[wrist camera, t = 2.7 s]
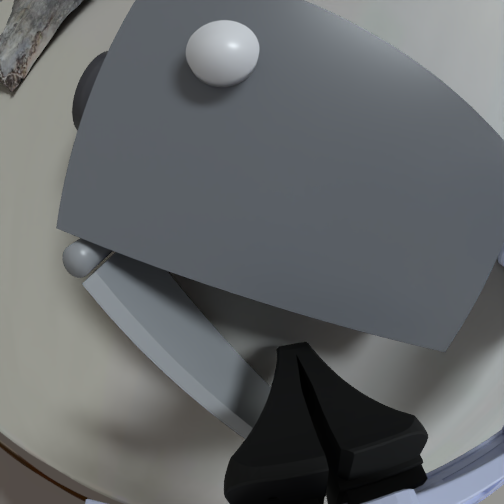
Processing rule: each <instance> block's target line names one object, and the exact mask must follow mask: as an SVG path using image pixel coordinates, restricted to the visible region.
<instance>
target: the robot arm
mask: <svg viewBox="0 0 504 504" xmlns="http://www.w3.org/2000/svg"><path fill="white" fill-rule="evenodd" d="M498 263H499V264H501V265H502V266H503V267H504V243H503V245H502V248H501V250H500V252H499V255H498ZM427 439H428V434H427V432H426V430H425V428H424V427H423V425H422V424H421V423H420V422H419V420H418V419H417V418H416V417H415V416H414V415H411V414H407V413H404V412H401V411H398V410H395V409H392V408H390V407H388V406H385V405H383V404H381V403H379V402H377V401H375V400H373V399H371V398H369V397H368V396H366V395H364V394H363V393H361V392H359V391H358V390H356V389H355V388H354V387H352V386H351V385H349V384H348V383H347V382H346V381H344V380H343V379H342V378H341V377H340V376H338V375H337V374H336V373H335V372H334V371H333V370H332V369H331V368H330V367H329V366H328V365H327V364H326V363H325V362H324V361H323V360H322V359H321V358H320V357H319V356H318V355H317V353H316V352H315V351H314V350H313V349H312V347H311V346H310V345H309V343H307V342H302V343H296V344H291V345H285V346H280V347H278V348H277V364H276V370H275V375H274V380H273V383H272V387H271V390H270V393H269V396H268V399H267V401H266V404H265V406H264V408H263V410H262V412H261V414H260V416H259V418H258V420H257V422H256V424H255V426H254V427H253V429H252V430H251V432H250V433H249V435H248V436H247V438H246V439H245V441H244V442H243V444H242V445H241V446H240V447H239V449H238V450H237V451H236V452H235V453H234V455H233V456H232V457H231V459H230V461H229V464H228V467H227V471H226V474H225V480H224V495H225V498H226V499H227V501H228V502H229V503H230V504H323V503H324V497H325V496H327V502H328V504H478V503H479V502H481V501H482V500H484V499H485V498H486V497H487V496H489V495H490V494H492V493H493V492H494V491H496V490H497V489H498V488H500V487H501V486H502V485H504V426H503V428H502V430H500V431H499V432H498V433H496V434H495V435H493V436H492V437H490V438H489V439H487V440H486V441H484V442H483V443H481V444H480V445H478V446H476V447H475V448H473V449H471V450H470V451H468V452H466V453H465V454H463V455H461V456H459V457H458V458H456V459H454V460H452V461H450V462H449V463H447V464H445V465H443V466H441V467H439V468H437V469H435V470H433V471H431V472H429V473H427V474H426V473H425V471H424V469H423V467H422V465H421V464H422V463H423V460H422V458H421V456H420V453H421V452H422V450H423V448H424V446H425V444H426V442H427ZM85 504H108V503H104V502H100V501H95V500H91V499H86V502H85Z"/></svg>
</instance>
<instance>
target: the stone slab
mask: <svg viewBox="0 0 504 504" xmlns="http://www.w3.org/2000/svg"><path fill="white" fill-rule="evenodd" d="M0 1H2V0H0ZM82 1H83V0H14V5H13V7H12V13H11V15H10V17H9V19H8V22H7V24H6V25H7V26H6V28H5V29H4V31H3V33H2V34H1V35H0V81H1V82H2V83H4V85H5V86H6V87H8V88H9V89H10V90H9V91H11V92H13V91H14V89H15V88H16V87H17V86H18V85H19V84H20V81H21V78H23V79H24V78H25V77H26V75H27V73H28V72H29V70H30V68H31V67H32V65H33V63H34V62H35V61H36V59H37V58H38V56H39V55H40V54H41V52H42V51H43V49H44V48H45V46H46V45H47V44H48V42H49V41H50V39H51V38H52V36H53V35H54V33H55V32H56V30H57V29H58V27H59V25H60V24H61V23H62V21H63V20H64V19H65V18H66V17H67V16H68V15H69V13H70V12H71V11H73V10H74V9H75V8H77V7H78V6H79V5H80V4H81V2H82Z"/></svg>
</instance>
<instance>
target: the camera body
mask: <svg viewBox="0 0 504 504" xmlns="http://www.w3.org/2000/svg"><path fill="white" fill-rule="evenodd" d="M72 115H73V122H74V125H75V127H76V129H77V131H78V132H77V135H76V138H75V142H74V145H73V149H72V153H71V156H70V160H69V164H68V169H67V173H66V177H65V182H64V187H63V192H62V197H61V202H60V208H59V214H58V220H57V227H56V228H57V229H60V230H62V231H65V232H67V233H70V234H72V235H74V236H77V237H79V238H82V239H84V240H87V241H89V242H92V243H94V244H97V245H99V246H102V247H105V248H107V249H110V250H112V251H115V252H118V253H120V254H123V255H125V256H128V257H131V258H133V259H136V260H139V261H142V262H144V263H147V264H150V265H152V266H155V267H158V268H161V269H164V270H166V271H169V272H172V273H175V274H178V275H180V276H183V277H186V278H189V279H192V280H195V281H198V282H201V283H204V284H207V285H210V286H213V287H216V288H218V289H222V290H225V291H228V292H231V293H234V294H237V295H240V296H243V297H246V298H249V299H252V300H255V301H259V302H262V303H265V304H268V305H271V306H275V307H278V308H281V309H285V310H288V311H291V312H294V313H298V314H301V315H305V316H308V317H311V318H315V319H318V320H322V321H325V322H329V323H332V324H336V325H340V326H343V327H347V328H350V329H354V330H358V331H361V332H365V333H369V334H373V335H377V336H380V337H384V338H388V339H392V340H396V341H400V342H404V343H408V344H412V345H417V346H421V347H425V348H429V349H434V350H438V351H442V352H445V351H446V350H447V348H448V347H449V345H450V344H451V342H452V341H453V339H454V338H455V336H456V335H457V333H458V331H459V330H460V328H461V327H462V325H463V323H464V322H465V320H466V318H467V316H468V315H469V313H470V311H471V309H472V308H473V306H474V304H475V302H476V300H477V298H478V297H479V295H480V293H481V291H482V289H483V287H484V285H485V283H486V281H487V279H488V277H489V275H490V273H491V270H492V268H493V266H494V264H495V262H496V259H497V257H498V255H499V252H500V250H501V248H502V245H503V243H504V140H503V139H502V138H501V137H500V136H499V135H498V133H497V132H496V131H495V130H494V129H493V128H492V127H491V126H490V125H489V124H488V123H487V122H486V121H485V120H484V119H483V118H482V117H481V116H480V115H479V114H478V113H477V112H476V111H475V110H474V109H473V108H472V107H471V106H470V105H469V104H468V103H467V102H466V101H464V100H463V99H462V98H461V97H460V96H459V95H458V94H457V93H455V92H454V91H453V90H452V89H451V88H450V87H448V86H447V85H446V84H445V83H444V82H442V81H441V80H440V79H439V78H437V77H436V76H435V75H434V74H432V73H431V72H430V71H428V70H427V69H426V68H424V67H423V66H422V65H420V64H419V63H418V62H416V61H415V60H413V59H412V58H410V57H409V56H408V55H406V54H405V53H403V52H402V51H400V50H399V49H397V48H396V47H394V46H392V45H391V44H389V43H388V42H386V41H384V40H383V39H381V38H379V37H378V36H376V35H374V34H373V33H371V32H369V31H367V30H365V29H364V28H362V27H360V26H358V25H356V24H354V23H352V22H350V21H349V20H347V19H345V18H343V17H341V16H338V15H336V14H334V13H332V12H330V11H328V10H326V9H323V8H321V7H319V6H316V5H314V4H312V3H309V2H307V1H304V0H136V1H135V2H134V4H133V6H132V7H131V9H130V11H129V12H128V14H127V16H126V18H125V19H124V21H123V23H122V25H121V27H120V29H119V31H118V33H117V34H116V36H115V38H114V40H113V42H112V44H111V47H110V49H109V51H106V52H103V53H101V54H100V55H98V56H97V57H96V58H95V59H94V60H93V61H92V62H91V63H90V64H89V65H88V67H87V68H86V70H85V71H84V73H83V75H82V76H81V78H80V81H79V83H78V85H77V88H76V91H75V95H74V100H73V108H72Z"/></svg>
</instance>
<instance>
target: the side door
mask: <svg viewBox="0 0 504 504" xmlns="http://www.w3.org/2000/svg"><path fill="white" fill-rule="evenodd" d="M111 252H112V250H110V249H107V248H105V247H102V246H99V245H97V244H94V243H92V242H89V241H87V240H84V239H82V238H80V239H79V240H77V241H76V242H74V243H72V244H71V245H69V246H68V247H67V248H66V249H65V250H64V252H63V263H64V266H65V268H66V270H67V271H68V272H69V273H70V274H71V275H73V276H75V277H78V278H81V277H84V276H86V275H87V274H88V273H89V272H90V271H91V270H93V269H94V268H95V267H96V266H97V265H98V264H99V263H100V262H101V261H102V260H103V259H105V258H106V257H107V256H108V255H109V254H110V253H111ZM82 284H83V286H84V287H85V288H86V289H87V291H88V292H89V293H90V294H91V295H92V297H93V298H94V299H95V300H96V301H97V303H98V304H99V305H100V306H101V307H102V309H103V310H104V311H105V312H106V313H107V314H108V315H109V317H110V318H111V319H112V320H113V321H114V322H115V323H116V324H117V325H118V327H119V328H120V329H121V330H122V331H123V332H124V333H125V334H126V335H127V336H128V337H129V338H130V339H131V340H132V341H133V343H134V344H135V345H136V346H137V347H138V348H139V349H140V350H141V351H142V352H143V353H144V354H145V355H146V356H147V357H148V358H149V359H150V360H151V361H152V362H153V363H154V364H156V365H157V366H158V367H159V368H160V369H161V370H162V371H163V372H164V373H165V374H166V375H167V376H168V377H169V378H170V379H172V380H173V381H174V382H175V383H176V384H177V385H178V386H179V387H180V388H182V389H183V390H184V391H185V392H186V393H187V394H189V395H190V396H191V397H192V398H193V399H194V400H196V401H197V402H198V403H199V404H200V405H202V406H203V407H204V408H205V409H206V410H208V411H209V412H210V413H211V414H213V415H214V416H215V417H216V418H218V419H219V420H220V421H222V422H223V423H224V424H226V425H227V426H228V427H230V428H231V429H232V430H234V431H235V432H236V433H238V434H239V435H240V436H242V437H243V438H245V439H246V438H247V436H248V435H249V433H250V432H251V430H252V429H253V427H254V426H255V424H256V422H257V420H258V418H259V416H260V414H261V412H262V410H263V408H264V406H265V404H266V401H267V399H268V396H269V393H270V390H271V387H270V386H269V385H268V384H267V383H266V382H265V381H264V380H263V379H262V378H261V377H260V376H259V375H258V374H257V373H256V372H255V371H254V370H253V369H252V368H251V366H250V365H249V364H248V363H247V362H246V361H245V360H244V359H243V358H242V357H241V356H240V355H239V354H238V353H237V352H236V350H235V349H234V348H233V347H232V346H231V345H230V344H229V343H228V342H227V341H226V340H225V338H224V337H223V336H222V335H221V334H220V333H219V332H218V331H217V330H216V328H215V327H214V326H213V325H212V324H211V323H210V322H209V320H208V319H207V318H206V317H205V316H204V315H203V314H202V312H201V311H200V310H199V309H198V308H197V307H196V305H195V304H194V303H193V302H192V301H191V300H190V298H189V297H188V296H187V295H186V294H185V292H184V291H183V290H182V289H181V288H180V286H179V285H178V284H177V283H176V282H175V280H174V279H173V278H172V277H171V275H170V274H169V273H168V272H167V271H166V270H164V269H161V268H158V267H155V266H152V265H150V264H147V263H144V262H142V261H139V260H136V259H133V258H131V257H128V256H125V255H123V254H120V253H118V252H115V253H114V254H113V255H112V256H111V257H110V258H108V259H107V260H106V261H105V262H104V263H103V264H102V265H101V266H100V267H99V268H98V269H97V270H96V271H95V272H94V273H93V274H91V275H90V276H89V277H88V278H87V279H86V280H85V281H84V282H83V283H82Z"/></svg>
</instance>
